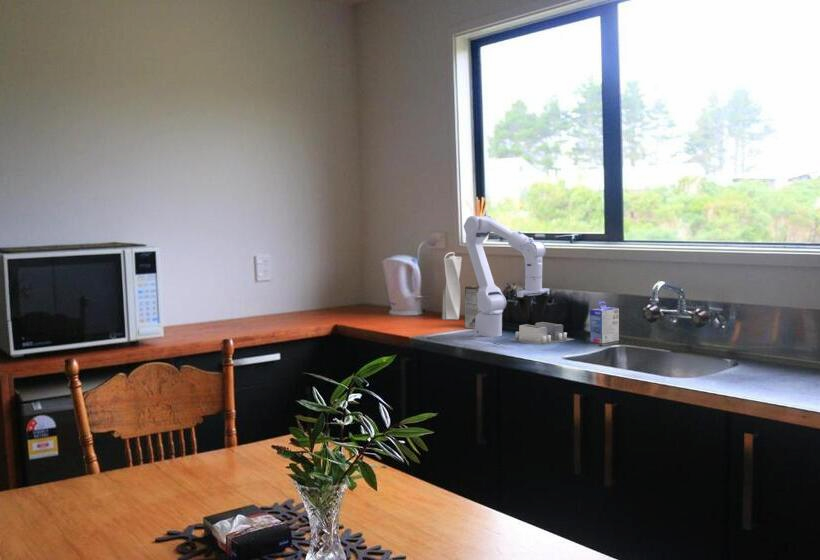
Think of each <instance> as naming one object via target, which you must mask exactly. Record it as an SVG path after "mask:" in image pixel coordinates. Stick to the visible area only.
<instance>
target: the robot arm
mask: <svg viewBox="0 0 820 560" xmlns="http://www.w3.org/2000/svg"><path fill="white" fill-rule="evenodd" d="M463 228H464V229H463V230H464V233H465V245H466V247H467V248H466V249H467V252H468V255H469V257H470V261H471V264H472V267H473V271H474V274H475V277H476V280H477V283H478V284H477V285H479V287H480V290H479V292H478V293H477V299H478V302H477V305H478V308H479V310H480V311H481V312H480V313H478V314H477V316H476V318H475V329H474V335H473V337H479V336H480V337H481V336H483V337H489V338H490V337H491V338H495V337H502V336H503V334H502V333H503V330H502V329H503V312H504V309H505V308H506V306H507V299H506V297H505V295H504V294H503V293H502V289H500V288H499V287H498V286H497V285H496V284H495V282H494V281H495V280H494V277H493V275H492V272H491V268H490V265H489V262H488V259H487V255H486V253H485V250H484V246H483V243H484V241H485V240H486V239H487V238H488V236H489V235H490V234H491V233H493V234H495V235H497V236H499V237H500V238H503V239H504V240H506V241H507V243H508V245H509V246H510V247H512V249H515V250H517V251H518V252H520V253H521V254H522V257H523V258H524V264H525V265H524V266H525V267H524V268H525V269H524V270H525V271H524V272H525V273H524V281H525V282H524V289H522V290H517V291H516V298H515V299H516V300H517V303H518V305H519V306H520V307H519V308H520V311H521V314H522V318H524V319H525V318H526V319H529V318H530V310H531V309H530V308H531V303H532V301H533V298H532V296H533V297H534V298H535V303H536V313H537V316H541V317H543V316H544V314H545V311H546V308H547V304H548V302H549V300H550V299H551V295H550V288H545V287H544V288H543V257H544V256H545V255H546V254H547V248H546V246H545V244H544V243H543V242H542V241H540V240H536V241H535V240H534V238H533V237H529V236H527V235H526V234H524V232H523V230H515V231H512V230H511V229H509V228H508V227H506V226H504V225H503V224H502V223H500V222H499V221H498V220H497V219H496V218H494V217H491V215H483V216H481V215H480V216H476V215H471V216H468V217H467V218H466V220H465V222H464V224H463Z"/></svg>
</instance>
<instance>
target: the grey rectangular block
mask: <svg viewBox="0 0 820 560" xmlns="http://www.w3.org/2000/svg"><path fill="white" fill-rule="evenodd" d="M518 327H519V328H518V330H519V331H518V332H519V340H523V341H529V342H535V343H542V336H546V342H547V327H541V326H535V324H533V325H532V324H527V323H526V324H521V325H519V326H518Z"/></svg>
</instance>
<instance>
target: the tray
mask: <svg viewBox="0 0 820 560" xmlns="http://www.w3.org/2000/svg"><path fill="white" fill-rule="evenodd" d="M567 335H568V332H564V331H563V339H562V333H558V340H551V335H547V342H546V336H542V343H535V342H529V341H523V340H519V331H515V338H510V339H507V340H508V341H513V342H517V343H518V342H520V343H525V344H532V345H537V346H546V345H552V344H557V343H562V342H567V341H575V340H576V339H575V338H570V337H567Z"/></svg>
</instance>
